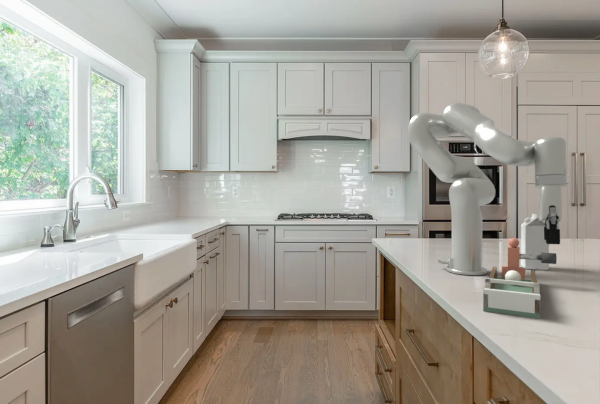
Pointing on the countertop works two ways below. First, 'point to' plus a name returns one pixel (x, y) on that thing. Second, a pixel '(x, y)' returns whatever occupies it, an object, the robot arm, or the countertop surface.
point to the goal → (511, 296)
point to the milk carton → (533, 242)
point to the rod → (515, 256)
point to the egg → (513, 276)
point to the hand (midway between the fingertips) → (551, 242)
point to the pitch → (512, 288)
